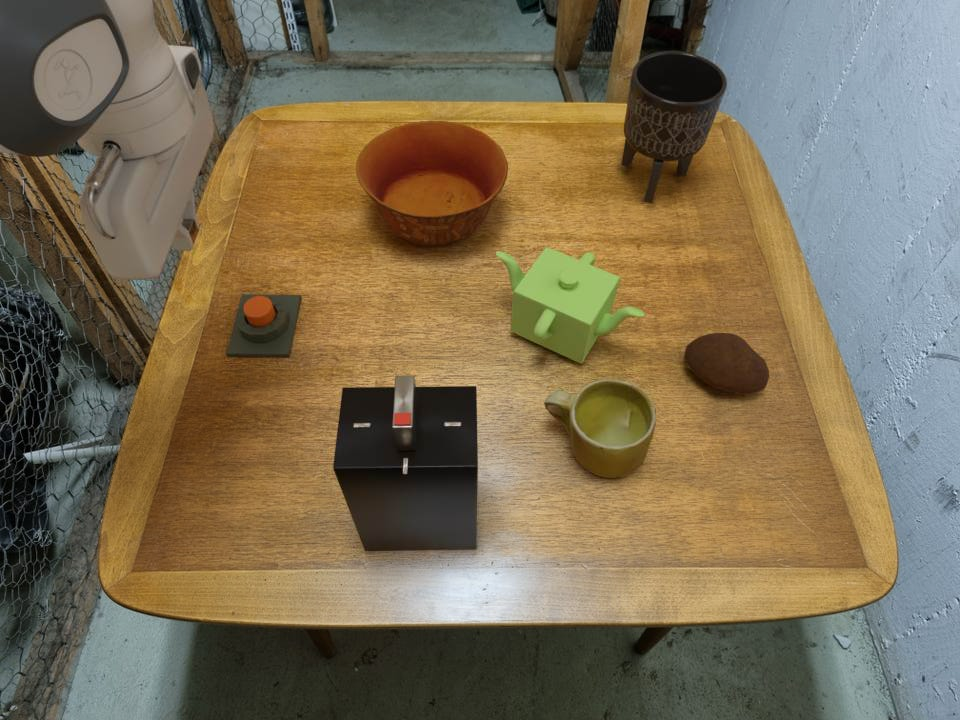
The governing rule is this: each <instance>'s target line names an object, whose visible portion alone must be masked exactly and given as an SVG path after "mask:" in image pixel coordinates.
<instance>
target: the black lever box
mask: <svg viewBox="0 0 960 720" xmlns="http://www.w3.org/2000/svg"><path fill="white" fill-rule="evenodd" d="M477 389H478V388H477V386H476V385H459V386H457V385H455V386H452V385H451V386H449V385H448V386H447V385H446V386H444V385H443V386H441V385H440V386H416V392H417V399H418V405H417V431H416V450H412V451H397V448H396V443H395V438H394V433H393V428H392V424H393V407H394V391H395V386H360V387H359V386H358V387H357V386H355V387H354V386H353V387H351V386H350V387H349V386H348V387H347V386H345V387H342V388H341V397H340V404H339V405H340V407H339V415H338V423H337V430H336V431H337V432H336V439H335V449H334V457H333V464H332V465H333V466H332V469H333V472H334V474H335V477H336V479H337V480H336V481H337V482H338V484H339V487H340V490H341V493H342V496H343V498H344V500H345V501H344V502H345V503H346V506H347V508H348V511H349V513H350V517H351V518H352V521H353V524H354V526H355V529H356V532H357V534H358V537H359V540H360V542H361V545H362V548H363V550H364V552H400V551H401V552H405V551H406V552H407V551H411V552H412V551H415V552H416V551H471V550H472V551H476V550H477V549H478V495H479V493H478V491H479V490H478V489H479V488H478V487H479V486H478V485H479V483H478V481H479V454H478V451H479V449H478V444H479V443H478V396H477Z"/></svg>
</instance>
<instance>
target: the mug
mask: <svg viewBox="0 0 960 720" xmlns="http://www.w3.org/2000/svg"><path fill="white" fill-rule="evenodd" d="M543 404H544V407H545V410H546V411H547V412H548V414H550V415H551V416H552V417H553V418H554V419H555V420H556V421H558V422H560V424H562V425H563V426H564V427H565V428H566V431H567V433H568V435H569V438H570V442H571V443H570V445H571V448H572V451H573V455H574V457H575V458H576V460H577V462H578V463H579V464H580V466H582V467H583V468H584V469H585V470H586V471H588V472H590V473H592V474H594V475H595V476H599V477H602V478H607V479H611V478H612V479H615V478H622V477H625V476H628V475H629V474H631V473H633V472H635V471H636V470H637V469H638V468H640V466H641V465H642V464H643V462H644V461H645V459H646V456H647V453H648V451H649V450H648V449H649V446H650V444H651V442H652V440H653V437H654V433H655V428H656V423H657V409H656V406H655V404H654V402H653V401H652V399H651V398H650V396H648V394H647V393H646V392H645V391H643V390H642V389H641V388H640V387H638V386H636V385H634V384H632V383H631V382H627V381H624V380H619V379H611V378H604V379H599V380H596V381H592V382H591V383H589V384H586V385H585V386H584V387H583V388H582V389H581V390H580V391H579V392H578V393H577V394H576V395H572V394H570V393H568V392H567V391H563V390H556V391H552V392H551V393H549V395H548V396H547V397H546V398H545V400H544V402H543Z"/></svg>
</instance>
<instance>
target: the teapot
mask: <svg viewBox="0 0 960 720" xmlns="http://www.w3.org/2000/svg"><path fill="white" fill-rule="evenodd" d="M495 255H496V257H498V259H499V260H501V262H502V263H503V264H504V265H505V267H506V269H507V272H508V276H509V283H510V288H511V291H512V302H511V314H510V315H511V316H510V318H511V319H510V328H509V329H510V330H509V331H510V332H511V333H513V334H515V335H518V336H519V337H521V338H524V339H526V340H528V341H531V342H532V343H535V344H537V345H539V346H541V347H544V348H545V349H548V350H550V351H552V352H554V353H557V354H559V355H561V356H563V357H566V358H568V359H570V360H571V361H574V362H576V363H578V364H580V365H582V364H583V362H584V361H585V360H586V357H587V356H588V354H589V352H590V351H591V349H592V348H593V346H594V344H595V342H597V339H598V338H599V336H600V337H602V336H607V335H609V334H611V333H613V332H614V331H615V330H616V329H617V328H618V327H619V326H620V325H621V324H622V322H624V321H625V320H626V319H628V318H642V317H644V316H645V312H644V311H643V310H641V309H640V308H637V307H633V306H623V307H621V308H619V309H618V310H616V311H615V312H614V313H612V311H613V308H614V307H613V306H614V303H615V299H616V296H617V293H618V292H617V291H618V288H619V284H620V281H621V277H620V276H618V275H616V274H614V273H611V272H609V271H606V270H604V269H602V268H601V267H600V268H599V267H597V266H594V265H595V262H596V255H595V254H594V253H593V252H589V251H588V252H585V253H584V254H582V255H581V257H580V258H579V259H578V258H576V257H573V256H570V255H568V254H565V253H563V252H560V251H558V250H556V249H553V248H550V247H549V246H545V248H544V249H543V250H542V252H541V253H540V255H539V256H538V257H537V259H536V260H535V261H534V262H533V264H532V265H531V266H530V268H529V269H528V271H527V272H526V273H524V272H523V271H522V269H521V267H520V265H519V263H518V262H517V260H516V259H515V258H514V257H513V256H512V255H510V254H509V253H507V252H504V251H501V250H496V252H495Z"/></svg>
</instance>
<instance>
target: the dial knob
mask: <svg viewBox="0 0 960 720" xmlns="http://www.w3.org/2000/svg"><path fill="white" fill-rule="evenodd" d="M394 387H395V391H394V407H393V424H392V428H393V433H394V438H395V443H396V448H397V451H412V450H416V431H417V405H418V399H417V392H416V387H417V384H416V378H415V375H413V374H412V375H411V374H409V375H395V377H394Z"/></svg>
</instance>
